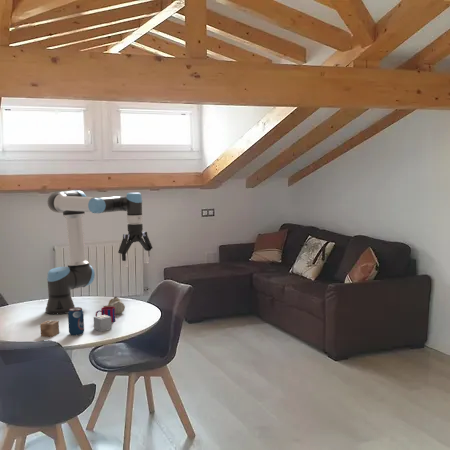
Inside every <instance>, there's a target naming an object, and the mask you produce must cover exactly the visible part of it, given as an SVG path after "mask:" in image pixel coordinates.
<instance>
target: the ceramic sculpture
mask: <svg viewBox="0 0 450 450" xmlns="http://www.w3.org/2000/svg"><path fill="white" fill-rule="evenodd" d="M109 306H111V307H115V315H120V314H122V313H124V311H125V308H126V306H125V304H124V303H123V302H122V300H121V299H120V298H118V297H117V296H114V297H113V298H111V299H110V300H109V301H108V305H103V307H109Z"/></svg>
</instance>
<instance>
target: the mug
mask: <svg viewBox="0 0 450 450" xmlns="http://www.w3.org/2000/svg"><path fill="white" fill-rule="evenodd" d="M99 312H100V313H101V315H107V316H110V317H111V324H112V323H114V322H116V314H115V307H111V306H109V307H104V306H103V307H101V308H100V309H99V310H97V311H96V312H95V317H96V316H98V313H99Z"/></svg>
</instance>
